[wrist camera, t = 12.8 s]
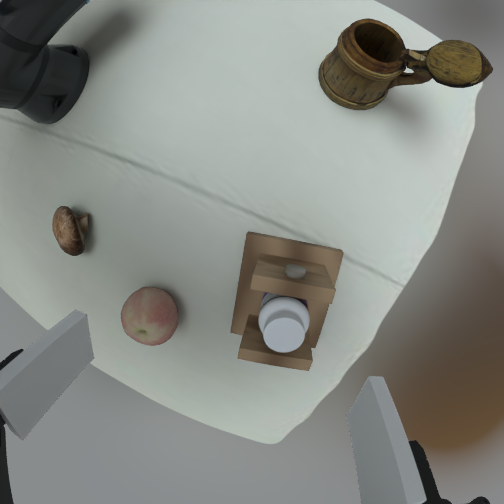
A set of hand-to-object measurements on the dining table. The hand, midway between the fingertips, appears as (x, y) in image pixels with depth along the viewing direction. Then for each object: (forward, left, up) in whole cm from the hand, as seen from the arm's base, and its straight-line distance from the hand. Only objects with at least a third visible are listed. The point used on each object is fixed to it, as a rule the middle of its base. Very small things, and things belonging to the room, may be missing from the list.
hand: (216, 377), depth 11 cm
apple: (-13, -11, -25) cm, 30 cm away
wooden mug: (+10, +24, -25) cm, 36 cm away
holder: (+4, -5, -25) cm, 26 cm away
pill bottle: (+4, -5, -23) cm, 24 cm away
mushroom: (-29, -2, -25) cm, 38 cm away
